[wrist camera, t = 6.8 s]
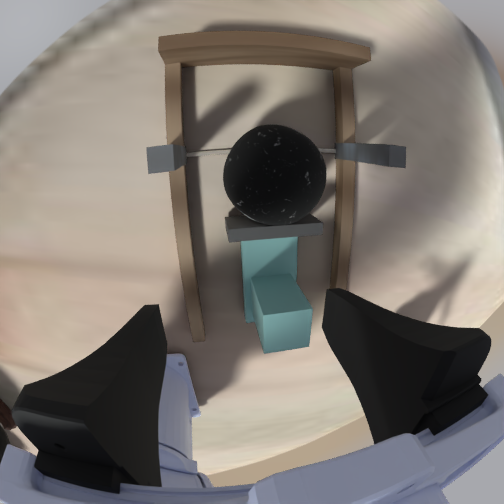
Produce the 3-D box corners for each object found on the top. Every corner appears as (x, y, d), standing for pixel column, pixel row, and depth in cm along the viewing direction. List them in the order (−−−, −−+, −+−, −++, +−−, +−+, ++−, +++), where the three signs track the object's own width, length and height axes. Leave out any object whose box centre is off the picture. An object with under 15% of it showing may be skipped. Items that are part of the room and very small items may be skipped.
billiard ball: (319, 155, 19) (360, 163, 14) (279, 224, 21) (305, 256, 15) (248, 112, 17) (266, 100, 12) (206, 187, 19) (206, 207, 13)
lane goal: (337, 314, 25) (372, 363, 18) (192, 333, 23) (190, 394, 16) (344, 61, 17) (396, 35, 10) (166, 57, 15) (147, 15, 8)
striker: (302, 308, 23) (328, 353, 18) (232, 317, 23) (241, 367, 17) (306, 211, 20) (342, 236, 15) (225, 216, 19) (232, 245, 14)
